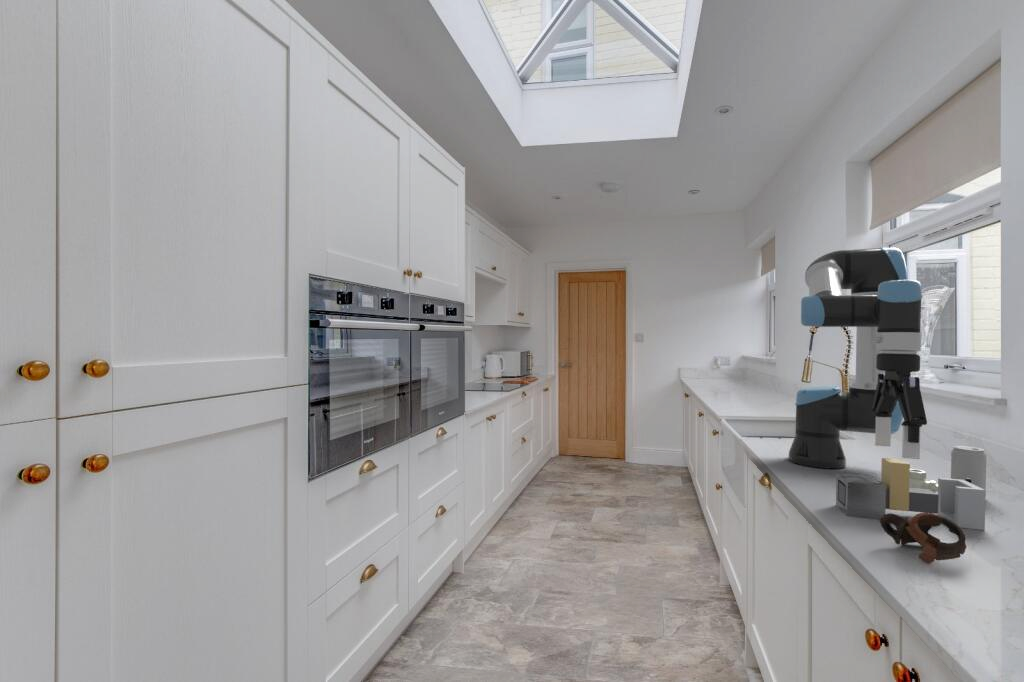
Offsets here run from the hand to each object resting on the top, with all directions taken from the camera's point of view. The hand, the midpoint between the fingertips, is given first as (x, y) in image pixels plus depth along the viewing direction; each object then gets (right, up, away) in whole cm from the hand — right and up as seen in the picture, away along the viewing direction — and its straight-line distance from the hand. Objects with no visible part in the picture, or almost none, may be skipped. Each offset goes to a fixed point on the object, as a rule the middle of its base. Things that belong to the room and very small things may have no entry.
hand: (895, 451), depth 110 cm
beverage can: (+29, -14, +15) cm, 35 cm away
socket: (+11, -14, -3) cm, 18 cm away
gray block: (-6, -14, +2) cm, 15 cm away
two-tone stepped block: (-2, -12, +1) cm, 12 cm away
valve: (+18, -14, +11) cm, 25 cm away
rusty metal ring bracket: (-10, -14, -19) cm, 26 cm away
